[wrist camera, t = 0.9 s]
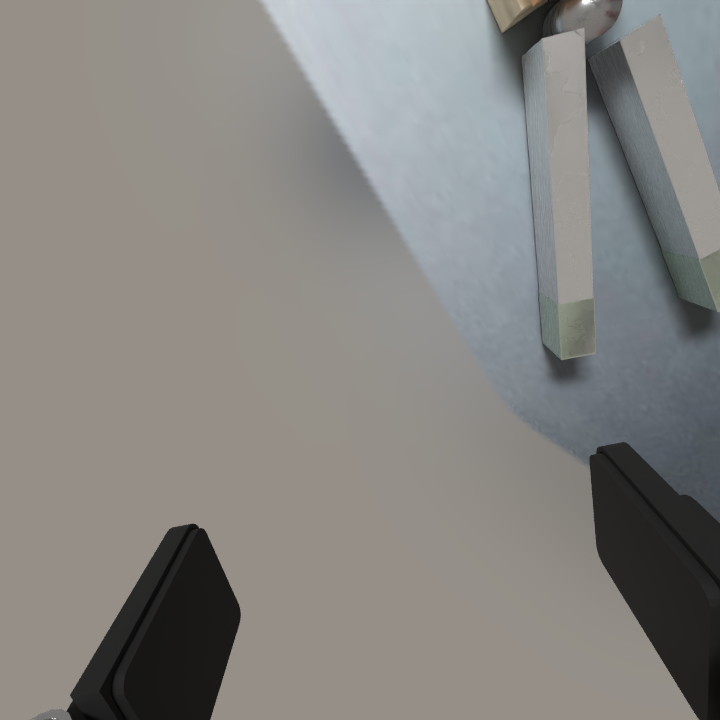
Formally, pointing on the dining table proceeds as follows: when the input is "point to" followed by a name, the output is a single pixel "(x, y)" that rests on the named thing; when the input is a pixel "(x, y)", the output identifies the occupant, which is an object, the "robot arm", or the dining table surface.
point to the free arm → (563, 171)
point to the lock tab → (535, 2)
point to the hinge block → (511, 11)
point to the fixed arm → (665, 155)
